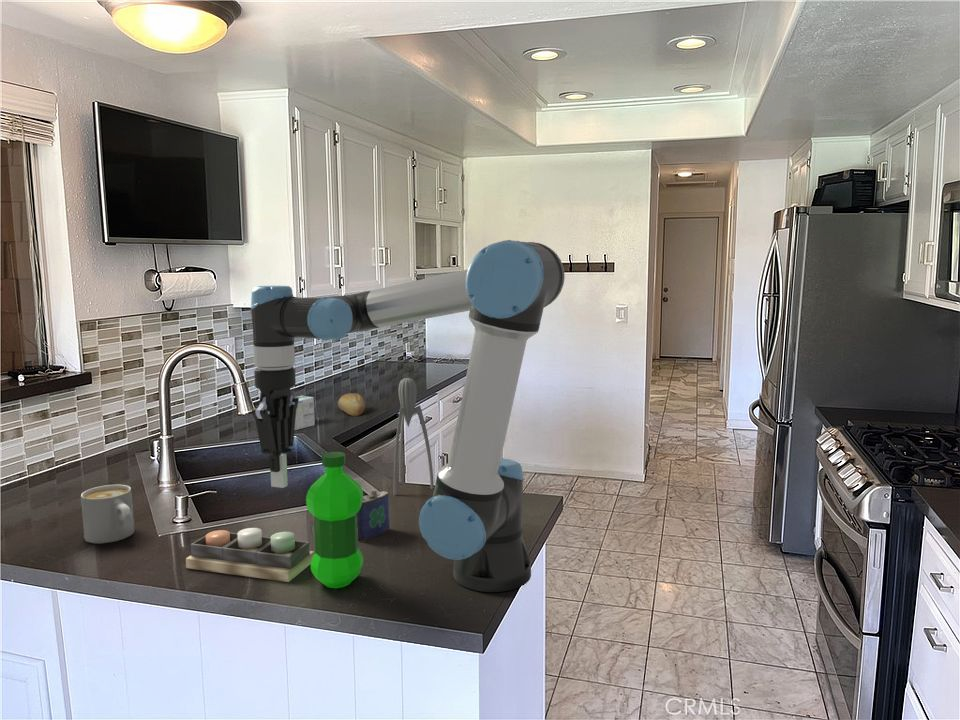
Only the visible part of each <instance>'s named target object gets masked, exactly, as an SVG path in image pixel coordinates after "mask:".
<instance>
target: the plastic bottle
mask: <svg viewBox="0 0 960 720" xmlns="http://www.w3.org/2000/svg"><path fill="white" fill-rule="evenodd" d="M345 465H346V453H344V452H342V451H329V452H326V453H322V455H321V466H322V467H324V468H325V469H324V472H325V473H323V474H322V475H321V476H320V477H318V478H317V480H315V482H314V483H312V484H311V486H310V487H309V488H308V490H307V493H306V496H305V503H306V504H305V505H306V509H307V511H308V512H309V513H310V514H311V515H312V516H313V525H314V529H313V530H314V556H313V558H312V561H311V564H310V571H311V573H312V576H313V577H315V579H317V580H318V582H320V583H322V584H323V585H324V586H325V587H326V588H331V589H340V588H344V587H347V586H349V585H350V584H352V582H353V581H354V580H355V579H357V577H358V576H359V575H360V572H361V570H362V566H363V564H364V556H363V554H362V552H361V550H360V548H359V547H358V546H359V545H358V544H359V543H358V542H359V541H358V529H357V512H358V511H359V510H360V508H361V505H362V501H363V498H364V491H363V488H362V485H361V484H360V483H359V482H357V480H355V479H354V478H352V477H351V476H350V475H348V474H347V473H346V472H344V471H343V470H344V466H345Z"/></svg>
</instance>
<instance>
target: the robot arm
mask: <svg viewBox="0 0 960 720" xmlns="http://www.w3.org/2000/svg"><path fill="white" fill-rule="evenodd" d="M564 284H565V268H564V265H563V262H562V260H561V258H560V257H559V255H558V254H557V252H555V251H554V250H553V249H552V248H550V247H549V246H547V245H545V244H543V243H540V242H534V241H519V240H511V239H507V240H506V239H505V240H502V241H497V242H494V243H491V244H488V245H487V246H485V247H484V248H482V249H481V250H479V251H478V252H477V253H476V254H475V255H474V257H473V258H472V260H471V261H470V264H469V265H468V268H466V269H463V270H457V271H454V272H450V273H446V274H445V273H444V274H440V275H436V276H431V277H426V278H422V279H417V280H413V281H409V282H405V283H400V284H399V283H398V284H394V285H390V286H385V287H382V288H377V289H372V290H367V291H363V292H357V293H353V294H345V295H333V296H318V297H296V296H294V294H293V289H292V287H291V286H289V285H258V286H254V287H253V288H252V290H251V297H250V298H251V305H250V306H251V307H250V312H251V313H250V314H251V324H252V337H253V339H252V345H253V365H254V366H255V367H256V368H255V369H254V372H253V373H254V374H253V375H254V376H253V377H254V387H255V388H256V389H258V390H259V392H260V396H259V405H258V407H257V408H255V407H253V408H252V409H251V414H252V416H253V418H254V420H255V424H256V429H257V435H258V439H259V440H258V441H259V444H260V445H259V446H260V449H261V454H262V455H266V456H269V470H270V485H271V486H270V487H271V488H273V487H274V488H282V489H284V488H286V487H288V485H289V484H288V459H287V453H292V452H293V448H290V447H293V446H294V439H295V431H296V430H295V419H296V409H297V405H298V401H299V398H298V396H293V395H292V390H291V388H294V387H295V386H296V384H297V383H296V381H297V380H296V368H295V367H294V365H296V356H295V355H296V354H295V353H296V351H295V338H304V339H317V340H322V341H328V340H341V339H344V338H345V337H346V335H347V334H352V333H358V332H359V333H361V332H367V331H371V330H374V329H379V328H383V327H388V326H395V325H399V324H405V323H411V322H414V321H415V322H416V321H422V320H427V319H431V318H437V317H442V316H443V317H444V316H447V315H453V314H459V313H464V312H468V311H469V313H468V320H469V321H470V323H471V324H472V325H473V327H474V330H475V332H474V336H473V341H472V346H471V349H470V355H469V356H470V357H469V361H468V364H467V365H468V366H467V371H466V374H465V381H464V384H463V385H464V386H463V391H462V396H461V399H460V400H461V401H460V405H459V410H458V415H457V418H456V419H457V420H456V425H455V431H454V435H453V439H452V444H451V450H450V455H449V459H448V460H449V461H448V462H447V463H446V464H444V465H443V466H441V467H439V468H438V471H437V475H436V480H435V485H434V489H433V494H432V497H431V498H429V499H427V500H426V501H425V504H424V505H423V506H422V507H421V509H420V513H419V515H418V527H419V531H420V534H421V536H422V538H423V539H424V540H425V541H426V542H427V545H428V547H429V548H430V549H431V550H432V551H433V552H435V553H436V554H437V555H439V556H441V557H443V558H445V559H448V560H454V561H453V567H452V568H453V569H452V570H453V572H452V573H453V575H452V576H453V579H454V580H455V582H456V583H457V584H459V585H461V586H462V587H465V588H467V589H468V590H469V589H470V590H473V591H478V592H482V593H483V592H484V593H485V592H486V593H501V592H508V591H512V590H515V589H519V588H521V587H524V585H526V584H527V583H528V582H529V581H530V580H531V577H532V563H531V560H530V557H529V553H528V550H527V547H526V544H525V541H524V538H523V505H524V504H523V498H524V497H523V495H524V494H523V493H524V492H523V491H524V489H523V488H524V487H523V486H524V484H523V483H524V481H525V480H524V477H523V467H522V465H521V464H520V463H519V462H518V461H515V460H513V459H509V458H508V459H507V458H502V456H503V451H504V446H505V441H506V438H507V437H506V436H507V433H508V428H509V424H510V420H511V419H510V418H511V415H512V414H511V413H512V409H513V406H514V401H515V396H516V391H517V385H518V384H519V383H518V382H519V377H520V373H521V368H522V364H523V360H524V355H525V351H526V345H527V341H528V339H530V338H531V337H533V336H535V335H536V334H538V333H539V329H540V326H541V321H542V316H543V314H544V313H543V312H544V308H546V307H548V306H549V305H551V304H552V303H554V301H555V300H556V299H557V298H558V297H559V296H560V294H561V293H562V290H563V288H564V286H565V285H564Z"/></svg>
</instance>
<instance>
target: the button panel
mask: <svg viewBox="0 0 960 720" xmlns="http://www.w3.org/2000/svg"><path fill="white" fill-rule="evenodd" d="M213 531H214V530H213ZM213 531H211V532H213ZM237 533H238V532H230V542H229V543H228V544H226V545H225V546H223V547H216V546H208V545H206V535H207V534H205V535H204V536H202V537H200V538H198V539H197V540H195V541H194V542H192V543H190V555H189V556H187V557H186V558H185V568H186V569H189V570H198V571H199V570H200V571H204V572H212V573H220V574H227V575H235V576H242V577H248V578H255V579H256V578H257V579H262V580H270V581H278V582H285V583H289V582H291V581H292V580H293V579H295V578H296V577H297V576H298V575H299V574H300V573H302V572H303V571H304V570H305V569H307V568H308V567H309V566H311V561H312V558H313V556H314V554H315V550H311V549H310V548H311V547H310V541H305V540H304V541H303V540H296V539H295V548H294V549H293V550H292V551H289V552H285V553H275V552H273V551H271V536H270V537H269V536H264V535H262V544H261V545H260V546H258V547H255V548H250V549H243V548H240V547H238V535H237Z"/></svg>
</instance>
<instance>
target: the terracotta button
mask: <svg viewBox="0 0 960 720" xmlns="http://www.w3.org/2000/svg"><path fill="white" fill-rule="evenodd" d="M230 533H231V532H230V531H228V530H225V529H219V530H213V532H212V531H209V532H208V533H207V534H205V535H206V545H208V546H216V547H223V546H225V545H226V544H228V543H229V542H230Z"/></svg>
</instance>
